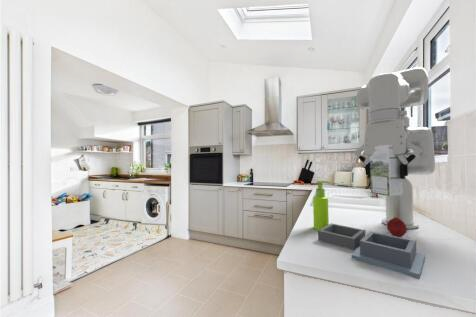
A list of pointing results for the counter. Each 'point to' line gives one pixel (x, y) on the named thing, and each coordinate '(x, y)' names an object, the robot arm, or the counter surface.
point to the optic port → (390, 253)
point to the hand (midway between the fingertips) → (385, 177)
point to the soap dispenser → (320, 207)
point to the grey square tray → (341, 236)
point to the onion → (396, 227)
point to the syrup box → (385, 172)
